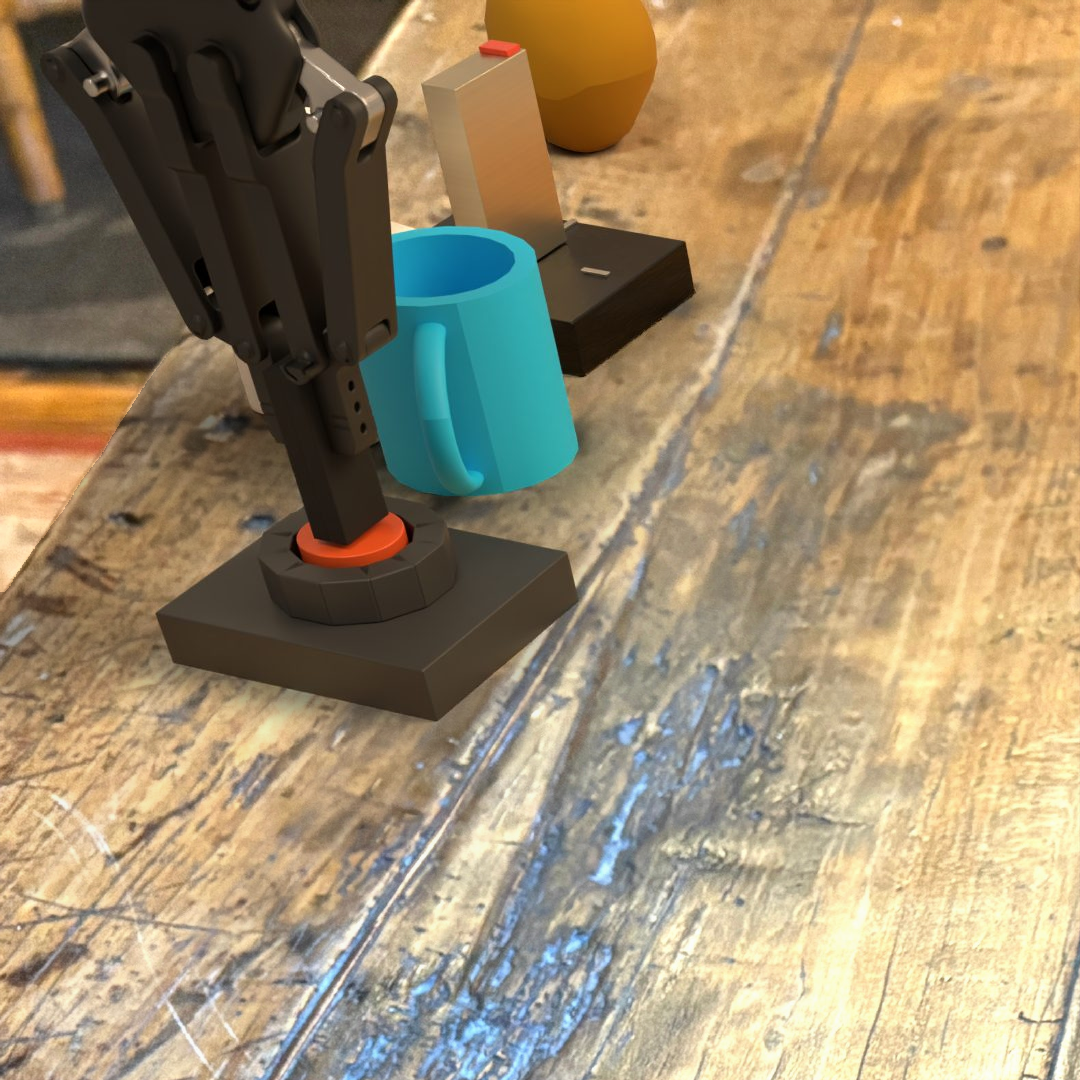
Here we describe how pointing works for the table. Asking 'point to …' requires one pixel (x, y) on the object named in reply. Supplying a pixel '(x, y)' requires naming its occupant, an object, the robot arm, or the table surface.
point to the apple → (581, 64)
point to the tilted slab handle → (495, 146)
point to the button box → (373, 615)
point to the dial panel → (608, 289)
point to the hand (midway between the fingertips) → (351, 525)
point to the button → (355, 545)
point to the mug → (469, 367)
